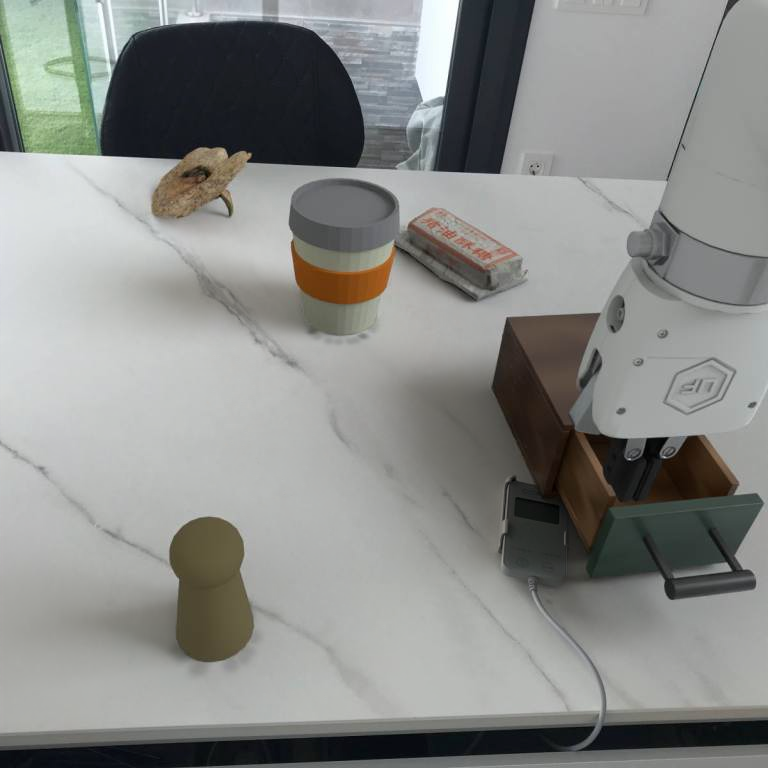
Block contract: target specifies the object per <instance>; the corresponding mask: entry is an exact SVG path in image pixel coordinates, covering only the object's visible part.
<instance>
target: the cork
mask: <svg viewBox="0 0 768 768" xmlns="http://www.w3.org/2000/svg"><path fill="white" fill-rule="evenodd" d="M168 555H169V558H168V559H169V565H170V567H171V569H172V571H173V573H174V575H175V577H176V578H177V579H178V588H177V592H178V593H177V604H176V605H177V606H176V619H175V620H176V621H175V639H176V641H177V643H178V645H179V648H180V649H181V651H183V652H184V653H185V654H186V655H187V656H189V657H190V658H193V659H195V660H197V661H200V662H208V663H213V662H214V663H215V662H220V661H226V660H227V659H230V658H232V657H234V656H236V655H237V654H239V653H240V652H241V651H242V650H243V649H244V648H246V646H247V644H249V642H250V640H251V639H252V637H253V634H254V629H255V620H254V614H253V611H252V607H251V604H250V601H249V600H250V599H249V597H248V593H247V590H246V586H245V582H244V579H243V576H242V573H241V568H242V565H243V561H244V558H245V543H244V539H243V537H242V535H241V534H240V531H239V529H238V528H237V527H236V526H235V525H233V524H232V523H231V522H229V520H226V519H223V518H221V517H217V516H210V515H208V516H201V517H197V518H194V519H191V520H189V521H188V522H187V523H185V524H183V525H182V526H181V527H180V528H179V529H178V530H177V532H176V533H175V534H174V535H173V537H172V540H171V542H170V545H169V550H168Z"/></svg>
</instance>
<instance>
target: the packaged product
mask: <svg viewBox="0 0 768 768" xmlns="http://www.w3.org/2000/svg"><path fill="white" fill-rule="evenodd" d="M394 246H395V247H398V248H400V249H401V250H404V251H405V252H407V253H409V254H410V256H412V257H413V258H414V259H415V260H417V261H418V262H420V263H421V264H423V265H424V266H425V267H427V268H428V269H429V270H430V271H432V272H433V273H434V274H435V275H436V276H437V277H438V278H439V279H440V280H443V281H446V282H447V283H450V284H453V285H454V286H455V287H458V288H460V290H462V291H464V292H465V293H466V294H468V295H469V296H470V297H471V298H473V299H475V300H476V301H478V302H479V301H481V300H483V299H486V298H489V297H490V296H494V295H496V294H498V293H501V292H503V291H506V290H508V289H511V288H513V287H515V286H518V285H521V284H523V283H526V282H528V279H529V269H524V268H523V267H522V265H523V259H524V257H522V255H520V254H519V253H517V252H515V250H512V249H511V248H509V247H507V246H506V245H505V244H502V242H499V241H498V240H496V239H494V238H493V237H491V236H490V235H488V234H487V233H485V232H483V231H481V230H479V229H478V228H477V227H475V226H473V225H471V224H470V223H468V222H466V221H465V220H463V219H462V218H459V217H458V216H456V215H454V214H453V213H451V212H450V211H448V210H446V208H443V207H431V208H428V209H427V210H426V211H424V212H423V213H421V214H420V215H418V216H416V217H414V218H413V219H412V220H410V221H409V222H408V224H407V230H405V231H402V232H399V233H398V235H397V236H396V238H395V239H394Z"/></svg>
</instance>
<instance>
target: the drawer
mask: <svg viewBox="0 0 768 768" xmlns="http://www.w3.org/2000/svg"><path fill="white" fill-rule="evenodd" d="M611 444H612V442H611V441H610V440H609V439H608V438H607V437H606V435H604V434H599V435H596V434H590V433H583V432H578V431H576V430H573V431H570V433H569V436H568V440H567V443H566V446H565V449H564V452H563V456H562V459H561V462H560V465H559V468H558V472H557V475H556V478H555V481H554V483H555V485H556V487H557V489H558V491H559V493H560V496H561V497H560V498H561V500H562V502H563V504H564V506H565V508H566V510H567V512H568V515H569V516H570V518H571V521H572V522H573V525H574V527H575V529H576V531H577V533H578V536H579V537H580V539H581V541H582V544H583V545H584V547H585V550H586V551H587V553H590V555H589V557H588V560H587V562H586V565H585V570H586V572H587V574H588V577H589V578H590V579H599V578H607V577H609V578H610V577H616V576H617V577H618V576H625V575H633V574H634V575H635V574H642V573H650V572H659V573H660V574H661V576H662V578H663V580H664V583H663V589H664V593H665V595H666V597H667V599H669V600H670V601H678V600H684V599H693V598H699V597H700V598H701V597H708V596H709V597H710V596H715V595H725V594H734V593H742V592H748V591H753V590H755V589H756V587H757V577H756V575H755V573H754V572H753V571H752V570H751V569H748V568H747V569H744V568H743V566H742V565H741V563H740V562H739V560H738V559H737V557H736V556H735V555H736V554H737V552H738V550H739V549H740V547H741V545H742V543H743V541H744V540H745V538H746V537H747V535H748V533H749V531H750V529H751V528H752V526H753V525H754V523H755V521H756V519H757V517H758V516H759V514H760V512H761V510H762V509H763V507H764V506H765V501H764V500H763V499H762V497H761V496H760V495H759V494H758V493H757V492H753V493H743V494H741V493H740V494H735V493H736V492H737V490H738V488H739V486H740V485H741V483H740V481H739V480H738V478H737V477H736V476H735V475H734V473H733V472H732V471H731V468H729V466H728V465H727V463H726V462H725V461H724V459H723V458H722V456H721V455H720V454H719V453H718V451H717V450H716V448H715V447H714V446H713V444H712V443H711V442H710V440H709V439H708V436H707V435H693V436H691V437H690V438H688V439H687V440H685V441H684V442H683V444H682V445H681V447H680V449H679V450H678V452H677V453H676V454H675V455H674V456H673V457H670V458H667V459H663V461H662V463H661V465H660V467H659V470H658V472H657V474H656V476H655V479H654V480H653V482H652V484H651V487H650V489H649V491H648V493H647V495H646V498H645V500H644V501H637V502H635V501H634V500H632V499H631V500H630V501H629V502H623V503H620V502H619V500H618V498H617V496H616V494H615V492H614V490H613V488H612V486H611V485H609V484H608V483H607V482H606V480H605V478H604V475H603V465H604V462H605V460H606V457H607V454H608V452H609V449H610V447H611ZM725 563H726V564H727V565H728V567H729V568H730V571H722V572H714V573H705V574H698V575H696V574H695V575H690V576H689V575H688V576H681V577H675V575H674V574H673V572H672V571H671V570H675V569H683V568H685V569H686V568H692V567H693V568H694V567H700V566H701V567H702V566H709V565H717V564H725Z"/></svg>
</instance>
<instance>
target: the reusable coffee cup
mask: <svg viewBox="0 0 768 768" xmlns="http://www.w3.org/2000/svg"><path fill="white" fill-rule="evenodd" d="M288 215H289V216H288V227H289V230H290V231H291V233H292V240H291V241H290V242H291V243H290V252H291V258H292V265H293V272H294V280H295V282H296V285H297V287H298V288H299V291H300V298H301V304H302V312H303V317H304V319H305V321H306V322H307V324H308V325H310V326H311V327H312V328H314V329H316V330H318V331H319V332H322V333H325V334H329V335H334V336H335V335H336V336H348V335H356V334H359V333H362V332H365V331H366V330H368V329H369V328H371V327H372V326H373V325H374V324H375V322H376V319H377V315H378V311H379V308H380V303H381V298H382V294H383V293H384V292H385V290H386V289H387V287H388V283H389V279H390V275H391V270H392V267H393V264H394V263H393V262H394V258H395V254H396V248H395V247H396V245H394V239H395V238H396V236H397V235H398V234H399V233H400V230H401V225H400V224H401V223H400V221H401V220H400V219H401V218H400V217H401V216H400V202H399V200H398V198H397V196H396V195H395V194H394V193H393V192H392V191H390V190H389V189H387V188H385V187H384V186H381V185H379V184H376V183H373V182H371V181H367V180H363V179H357V178H350V177H349V178H347V177H330V178H329V177H328V178H323V179H322V178H321V179H317V180H313V181H310V182H307V183H305V184H303V185H301V186H299V187H297V189H295V190H294V191H293V192H292V195H291V198H290V207H289V214H288Z"/></svg>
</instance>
